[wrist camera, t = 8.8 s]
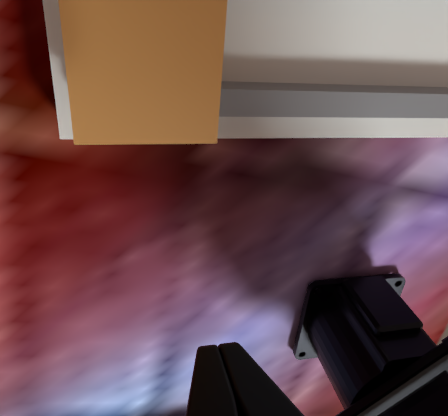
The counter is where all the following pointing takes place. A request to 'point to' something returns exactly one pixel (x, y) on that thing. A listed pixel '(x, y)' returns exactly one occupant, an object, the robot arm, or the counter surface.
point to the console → (318, 69)
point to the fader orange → (144, 70)
